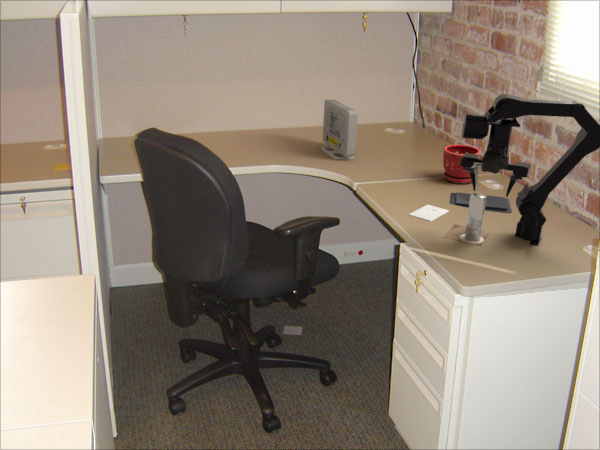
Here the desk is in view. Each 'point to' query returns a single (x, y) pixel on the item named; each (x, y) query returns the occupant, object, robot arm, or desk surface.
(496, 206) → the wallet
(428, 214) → the external hard drive
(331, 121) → the network device
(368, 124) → the desk surface
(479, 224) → the steel pin
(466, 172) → the plant pot
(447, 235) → the board
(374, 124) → the desk surface
